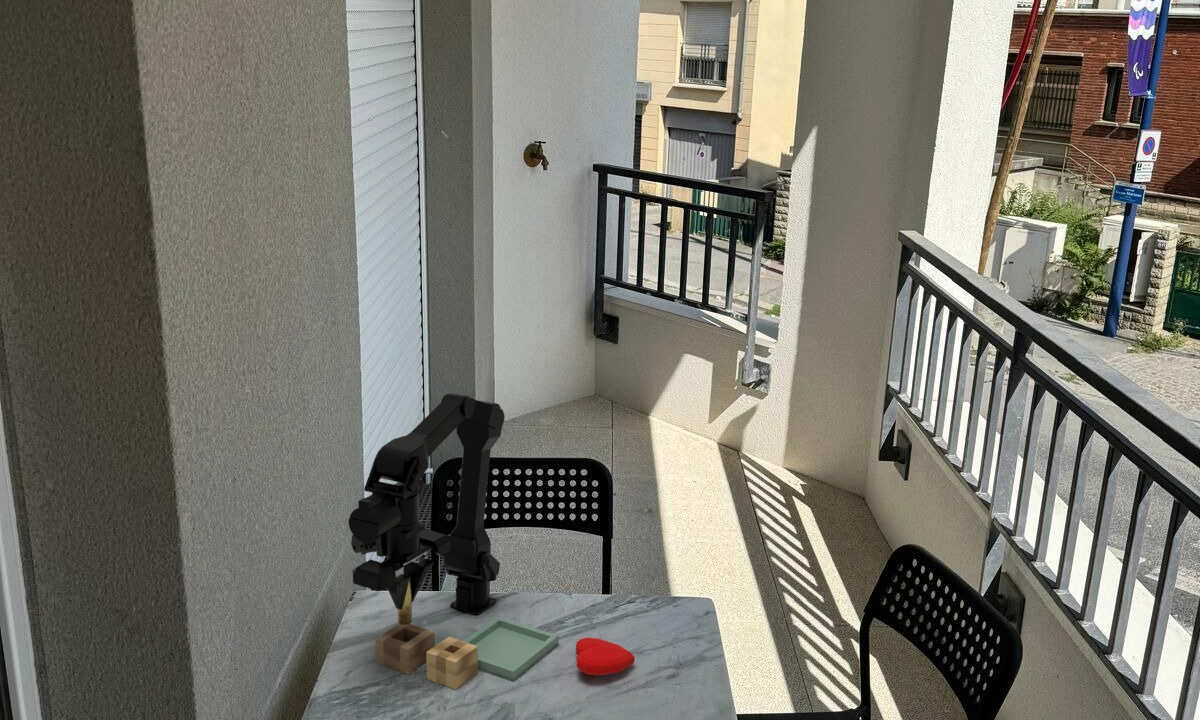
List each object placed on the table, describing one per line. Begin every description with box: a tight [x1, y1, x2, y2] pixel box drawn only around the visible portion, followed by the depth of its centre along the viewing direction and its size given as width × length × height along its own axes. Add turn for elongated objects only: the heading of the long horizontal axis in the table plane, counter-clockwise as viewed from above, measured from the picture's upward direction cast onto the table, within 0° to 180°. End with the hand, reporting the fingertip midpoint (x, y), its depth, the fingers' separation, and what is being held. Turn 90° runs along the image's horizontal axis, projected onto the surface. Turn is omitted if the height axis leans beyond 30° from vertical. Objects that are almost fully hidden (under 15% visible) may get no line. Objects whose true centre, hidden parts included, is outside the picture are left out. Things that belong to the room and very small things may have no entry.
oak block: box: [426, 636, 479, 690], centre depth 182 cm, size 6×6×5 cm
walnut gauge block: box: [375, 623, 436, 675], centre depth 186 cm, size 7×7×5 cm
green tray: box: [463, 616, 560, 682], centre depth 190 cm, size 14×13×2 cm
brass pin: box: [396, 575, 413, 625], centre depth 184 cm, size 2×2×8 cm
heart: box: [575, 636, 635, 676], centre depth 186 cm, size 12×4×10 cm
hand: (404, 605), depth 185 cm, fingers closed on brass pin, 2 cm apart
